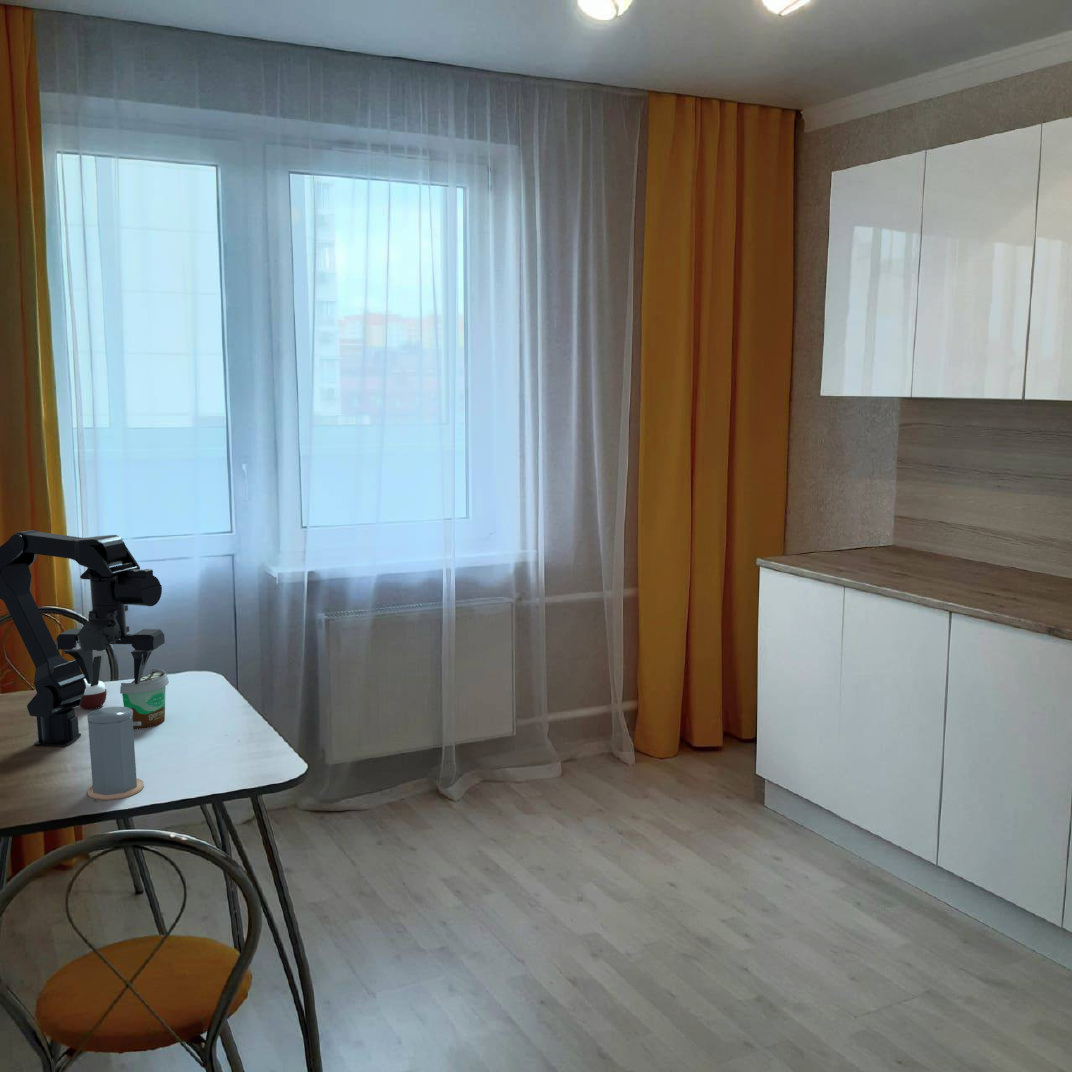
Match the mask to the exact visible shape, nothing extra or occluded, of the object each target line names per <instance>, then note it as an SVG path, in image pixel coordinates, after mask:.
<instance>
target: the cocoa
mask: <svg viewBox="0 0 1072 1072" xmlns="http://www.w3.org/2000/svg"><path fill="white" fill-rule="evenodd" d="M102 657H103V656H102V655H97V656H94V657H93V682H92V683H91V684H88V683H87V681H86V679H84V681H85V684H86V689H85V692H84V695H83V698H82V702H81V705H80V706H79V707H80V708H81V709H83V710H90V711H91V710H97V709H100V708H101V707H102V706H103V705H104V704H105V703H106V699H107V689H106V685H105V683H104V681H101V680H100V673H101V666H102V665H101V664H102Z"/></svg>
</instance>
